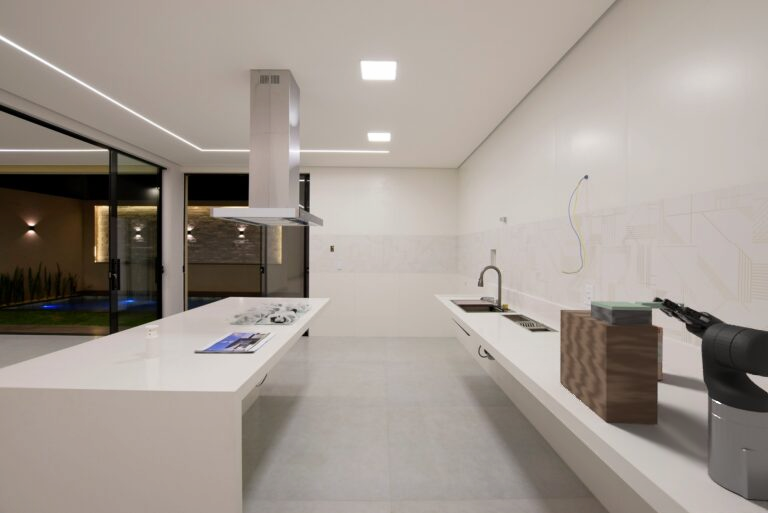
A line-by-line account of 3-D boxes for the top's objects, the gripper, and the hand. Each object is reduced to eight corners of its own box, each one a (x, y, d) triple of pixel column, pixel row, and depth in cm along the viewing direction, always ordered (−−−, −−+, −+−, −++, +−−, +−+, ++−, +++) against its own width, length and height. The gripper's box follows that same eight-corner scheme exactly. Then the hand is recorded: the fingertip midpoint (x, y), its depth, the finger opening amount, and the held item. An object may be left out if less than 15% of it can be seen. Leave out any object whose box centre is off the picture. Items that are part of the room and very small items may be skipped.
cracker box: (663, 381, 123) (663, 327, 123) (646, 379, 124) (646, 326, 124) (642, 368, 137) (642, 320, 137) (626, 367, 138) (626, 319, 138)
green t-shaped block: (696, 314, 91) (696, 305, 91) (612, 313, 93) (612, 304, 93) (665, 308, 102) (665, 300, 102) (590, 307, 104) (590, 299, 104)
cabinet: (657, 424, 90) (657, 311, 91) (606, 422, 92) (606, 310, 92) (599, 385, 118) (599, 298, 119) (560, 383, 120) (560, 298, 120)
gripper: (697, 314, 103) (648, 287, 104) (742, 324, 89) (685, 292, 90) (684, 334, 103) (636, 307, 104) (728, 346, 89) (671, 315, 90)
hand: (659, 300), depth 97 cm, fingers closed on green t-shaped block, 3 cm apart
